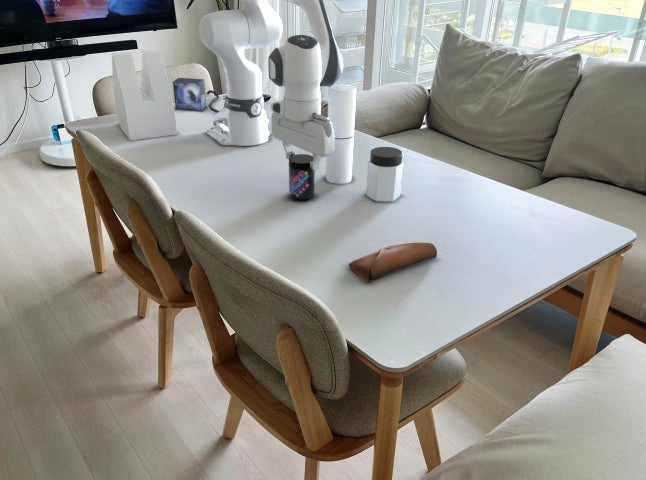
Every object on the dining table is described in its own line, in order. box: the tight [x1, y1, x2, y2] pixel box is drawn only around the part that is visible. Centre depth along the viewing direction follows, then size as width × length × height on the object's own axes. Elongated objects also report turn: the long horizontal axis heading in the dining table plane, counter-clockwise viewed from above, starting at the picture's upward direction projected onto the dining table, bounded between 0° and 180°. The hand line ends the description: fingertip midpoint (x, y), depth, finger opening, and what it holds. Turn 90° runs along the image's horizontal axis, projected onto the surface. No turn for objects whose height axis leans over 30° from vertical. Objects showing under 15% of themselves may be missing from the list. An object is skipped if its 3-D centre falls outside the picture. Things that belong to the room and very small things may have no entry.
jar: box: [365, 146, 404, 203], centre depth 152 cm, size 9×8×12 cm
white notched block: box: [111, 49, 178, 141], centre depth 195 cm, size 19×15×25 cm
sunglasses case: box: [348, 241, 438, 283], centre depth 123 cm, size 18×7×7 cm
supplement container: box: [288, 153, 316, 202], centre depth 151 cm, size 7×7×10 cm
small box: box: [172, 77, 207, 112], centre depth 221 cm, size 11×6×10 cm, turn 81°
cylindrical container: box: [325, 83, 357, 185], centre depth 158 cm, size 7×7×25 cm
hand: (302, 163), depth 149 cm, fingers open, 8 cm apart
